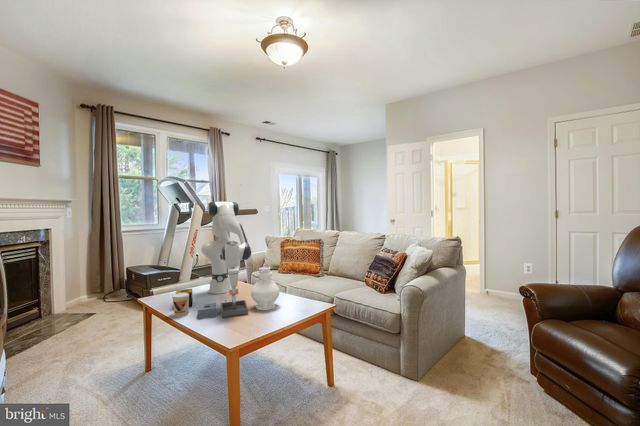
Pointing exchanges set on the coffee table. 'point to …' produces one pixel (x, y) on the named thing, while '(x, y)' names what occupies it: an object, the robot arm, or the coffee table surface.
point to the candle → (188, 293)
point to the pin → (233, 298)
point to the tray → (240, 310)
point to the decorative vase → (265, 290)
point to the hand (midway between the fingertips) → (233, 290)
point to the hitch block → (207, 311)
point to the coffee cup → (181, 304)
